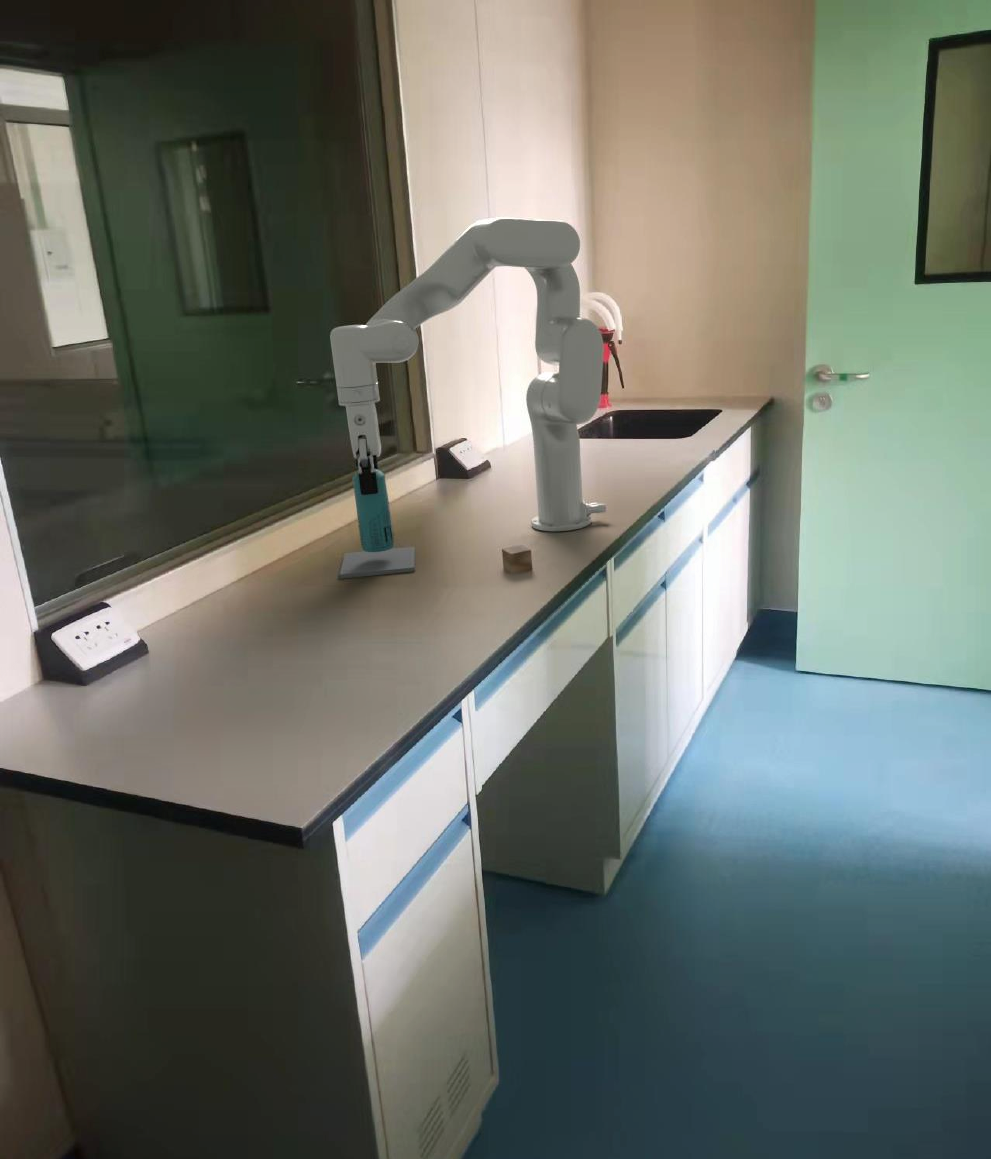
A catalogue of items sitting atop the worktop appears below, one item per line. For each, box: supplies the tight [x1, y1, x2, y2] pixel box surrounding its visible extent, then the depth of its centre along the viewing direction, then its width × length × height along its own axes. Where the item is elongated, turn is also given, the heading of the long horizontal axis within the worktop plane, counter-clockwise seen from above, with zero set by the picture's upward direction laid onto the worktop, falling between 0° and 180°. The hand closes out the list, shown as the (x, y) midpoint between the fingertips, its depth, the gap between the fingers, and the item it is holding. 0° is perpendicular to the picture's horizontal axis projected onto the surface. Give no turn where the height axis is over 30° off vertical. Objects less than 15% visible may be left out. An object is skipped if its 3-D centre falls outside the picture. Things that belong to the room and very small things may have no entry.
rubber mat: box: [339, 546, 416, 579], centre depth 191 cm, size 14×14×1 cm
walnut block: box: [501, 544, 533, 575], centre depth 181 cm, size 4×4×4 cm
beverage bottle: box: [351, 454, 395, 552], centre depth 188 cm, size 6×7×20 cm
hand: (370, 488), depth 187 cm, fingers closed on beverage bottle, 6 cm apart
